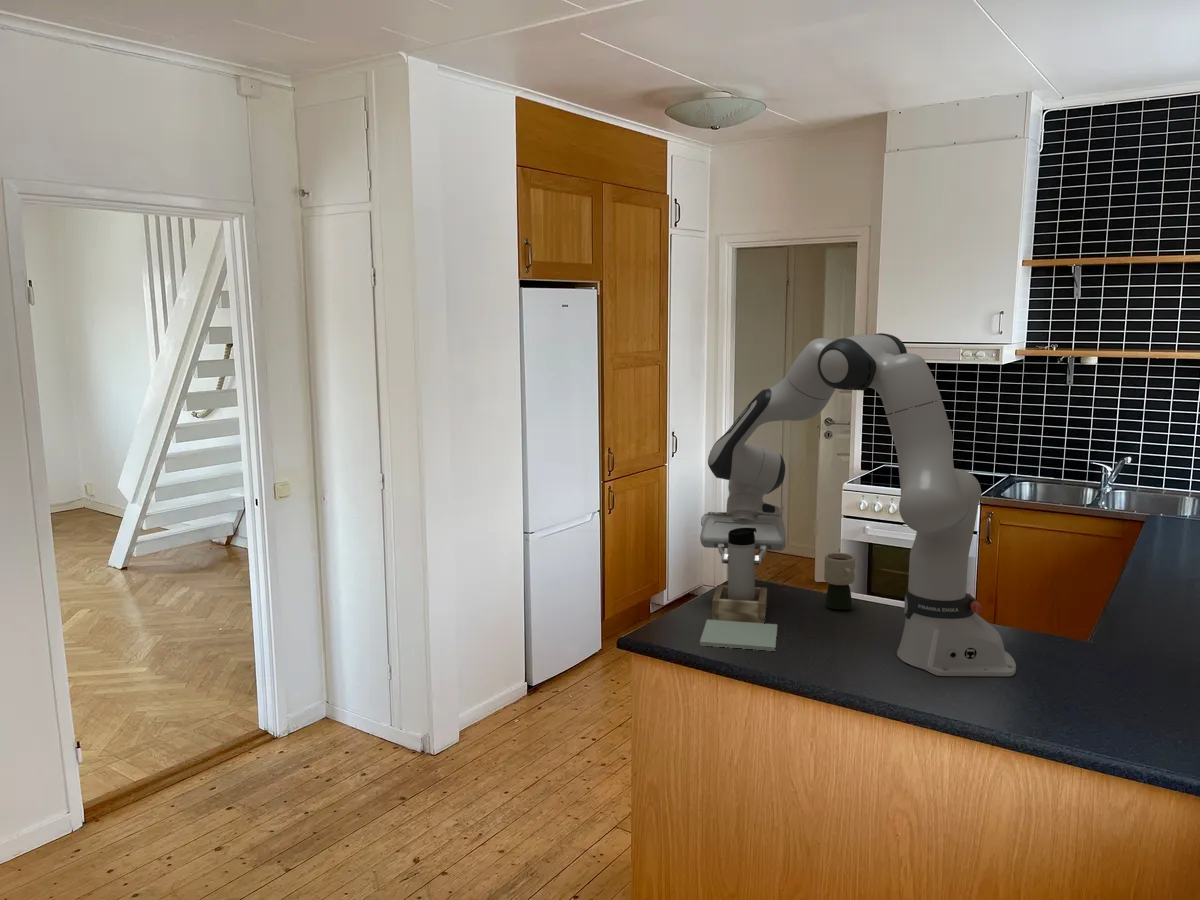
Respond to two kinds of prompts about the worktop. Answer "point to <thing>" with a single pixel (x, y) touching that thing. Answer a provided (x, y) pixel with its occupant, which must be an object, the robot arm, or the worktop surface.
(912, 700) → the worktop surface
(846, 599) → the character mug
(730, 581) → the travel mug
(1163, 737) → the worktop surface
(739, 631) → the sage mat
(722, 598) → the birch holder
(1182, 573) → the worktop surface
